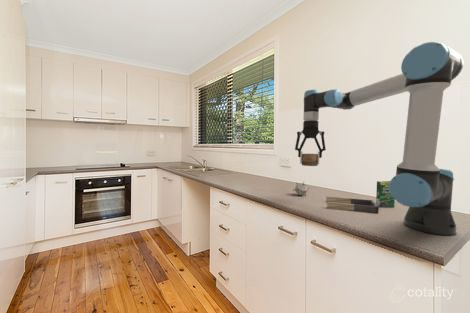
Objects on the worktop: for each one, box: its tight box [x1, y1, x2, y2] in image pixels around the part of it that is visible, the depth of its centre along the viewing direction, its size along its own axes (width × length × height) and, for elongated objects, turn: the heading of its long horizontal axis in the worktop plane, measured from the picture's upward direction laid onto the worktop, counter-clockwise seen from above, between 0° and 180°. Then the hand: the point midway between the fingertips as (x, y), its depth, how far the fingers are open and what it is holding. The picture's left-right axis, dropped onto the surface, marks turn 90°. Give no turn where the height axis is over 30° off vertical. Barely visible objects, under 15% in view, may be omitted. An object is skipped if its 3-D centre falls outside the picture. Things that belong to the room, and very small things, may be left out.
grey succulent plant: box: [292, 182, 310, 197], centre depth 136 cm, size 9×8×10 cm
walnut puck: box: [301, 153, 319, 167], centre depth 118 cm, size 8×8×6 cm
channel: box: [325, 195, 380, 214], centre depth 112 cm, size 13×22×3 cm, turn 69°
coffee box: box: [375, 180, 396, 208], centre depth 113 cm, size 8×3×13 cm, turn 90°
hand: (309, 163), depth 118 cm, fingers closed on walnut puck, 8 cm apart
